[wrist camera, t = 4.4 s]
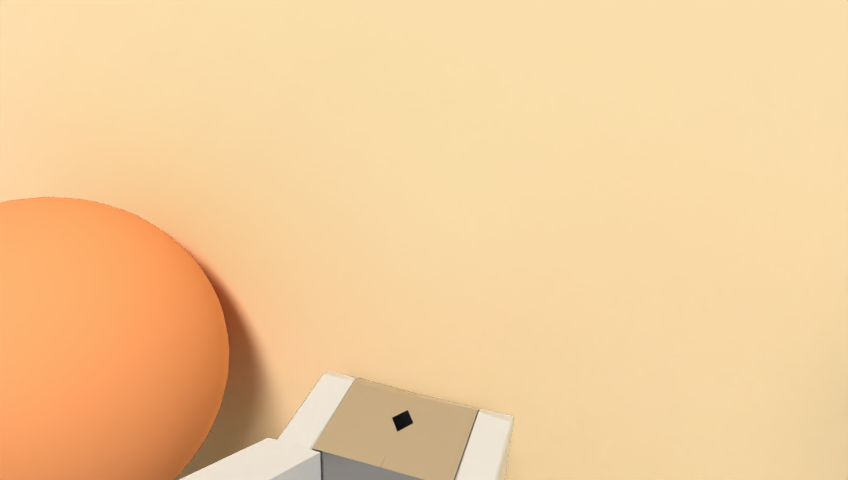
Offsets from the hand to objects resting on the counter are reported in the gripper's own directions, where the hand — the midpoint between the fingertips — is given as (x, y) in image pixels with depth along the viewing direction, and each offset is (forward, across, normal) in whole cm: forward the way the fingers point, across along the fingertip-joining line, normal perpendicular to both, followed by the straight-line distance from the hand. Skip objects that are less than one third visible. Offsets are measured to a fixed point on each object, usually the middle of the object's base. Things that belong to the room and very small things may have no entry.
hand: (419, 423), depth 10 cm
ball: (-1, +6, 0) cm, 6 cm away
